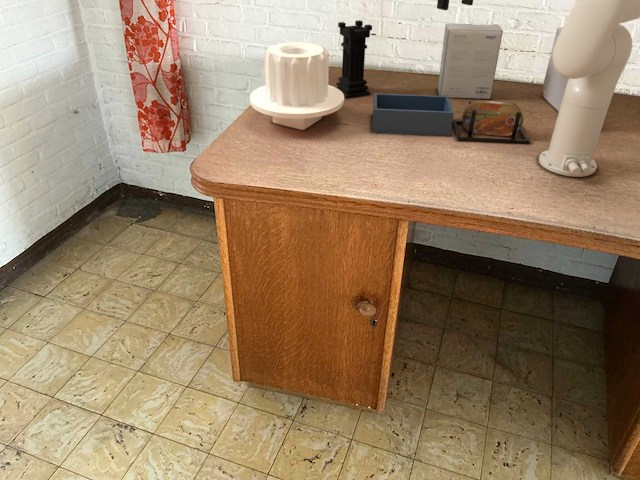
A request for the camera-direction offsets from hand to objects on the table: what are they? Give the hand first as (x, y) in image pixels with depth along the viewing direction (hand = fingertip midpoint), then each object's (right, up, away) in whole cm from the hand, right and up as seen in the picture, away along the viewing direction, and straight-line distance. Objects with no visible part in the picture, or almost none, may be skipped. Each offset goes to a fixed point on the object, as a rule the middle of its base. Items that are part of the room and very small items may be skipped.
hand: (454, 6), depth 139 cm
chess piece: (-25, -14, +28) cm, 40 cm away
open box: (-10, -29, +7) cm, 31 cm away
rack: (+10, -32, +3) cm, 33 cm away
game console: (+36, -23, +17) cm, 46 cm away
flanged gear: (-41, -27, +9) cm, 50 cm away
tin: (+10, -32, +4) cm, 33 cm away
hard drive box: (+9, -15, +28) cm, 33 cm away
